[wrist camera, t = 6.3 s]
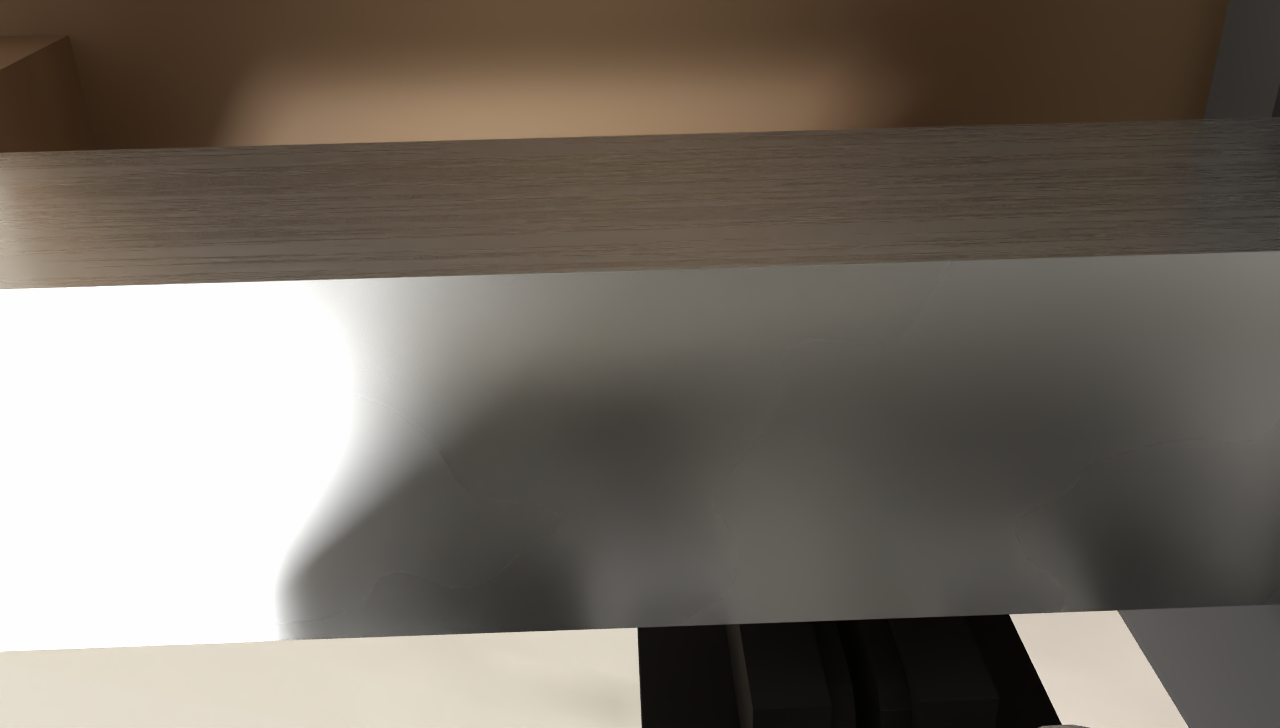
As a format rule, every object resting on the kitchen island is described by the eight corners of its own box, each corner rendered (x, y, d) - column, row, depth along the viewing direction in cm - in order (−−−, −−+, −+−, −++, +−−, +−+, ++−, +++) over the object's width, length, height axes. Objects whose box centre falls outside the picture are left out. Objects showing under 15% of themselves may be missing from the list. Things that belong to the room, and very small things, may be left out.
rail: (2221, 73, 8) (2844, 193, 6) (2021, 384, 9) (2477, 584, 7) (-139, 138, 8) (-439, 291, 6) (-29, 451, 9) (-239, 682, 7)
